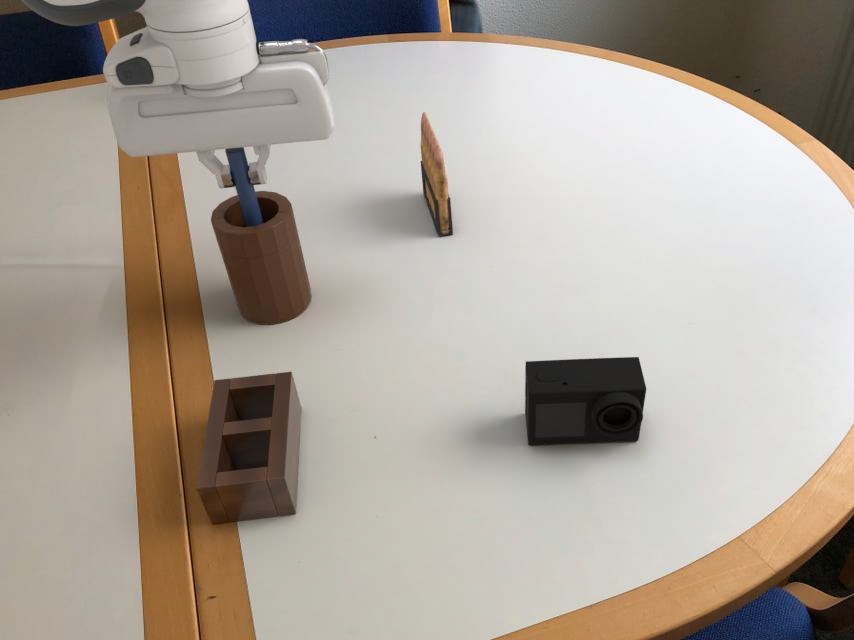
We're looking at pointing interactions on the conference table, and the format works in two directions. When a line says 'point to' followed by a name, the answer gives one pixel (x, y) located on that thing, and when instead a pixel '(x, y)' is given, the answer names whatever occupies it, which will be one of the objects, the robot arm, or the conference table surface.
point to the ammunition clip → (435, 180)
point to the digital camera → (584, 400)
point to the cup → (263, 259)
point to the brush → (244, 186)
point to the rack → (251, 449)
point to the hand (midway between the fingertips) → (243, 183)
